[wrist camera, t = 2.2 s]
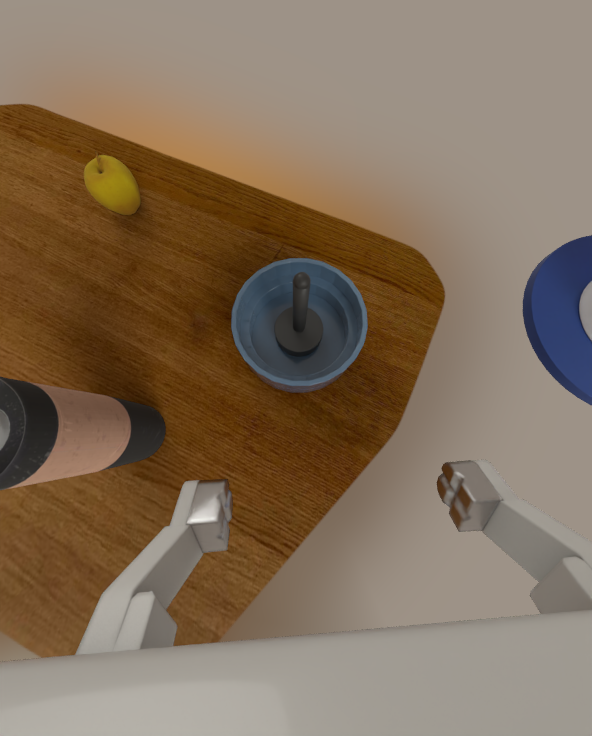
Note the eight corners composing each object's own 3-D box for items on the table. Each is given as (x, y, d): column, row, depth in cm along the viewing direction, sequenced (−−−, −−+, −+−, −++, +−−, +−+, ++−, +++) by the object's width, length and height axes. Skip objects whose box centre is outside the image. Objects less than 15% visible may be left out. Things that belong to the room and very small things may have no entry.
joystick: (326, 319, 40) (345, 253, 25) (315, 361, 38) (329, 318, 24) (282, 308, 40) (276, 237, 25) (270, 350, 39) (256, 300, 24)
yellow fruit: (136, 183, 45) (103, 132, 37) (157, 210, 44) (128, 163, 36) (100, 204, 44) (59, 156, 37) (121, 232, 43) (83, 188, 35)
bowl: (365, 298, 41) (378, 274, 35) (342, 406, 38) (352, 401, 31) (259, 273, 42) (253, 245, 36) (226, 376, 38) (213, 366, 32)
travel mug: (134, 476, 36) (-58, 531, 16) (96, 433, 37) (-127, 437, 17) (180, 430, 37) (54, 430, 17) (141, 391, 38) (-18, 348, 18)
